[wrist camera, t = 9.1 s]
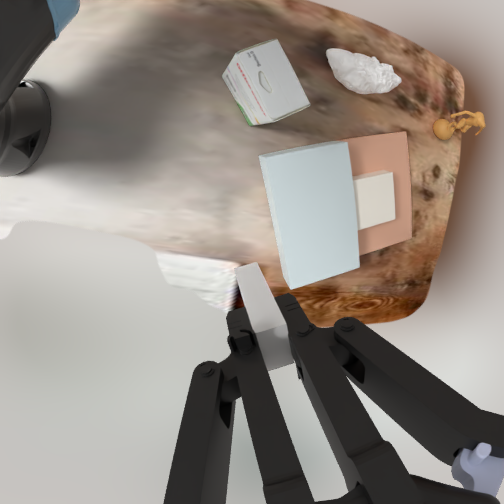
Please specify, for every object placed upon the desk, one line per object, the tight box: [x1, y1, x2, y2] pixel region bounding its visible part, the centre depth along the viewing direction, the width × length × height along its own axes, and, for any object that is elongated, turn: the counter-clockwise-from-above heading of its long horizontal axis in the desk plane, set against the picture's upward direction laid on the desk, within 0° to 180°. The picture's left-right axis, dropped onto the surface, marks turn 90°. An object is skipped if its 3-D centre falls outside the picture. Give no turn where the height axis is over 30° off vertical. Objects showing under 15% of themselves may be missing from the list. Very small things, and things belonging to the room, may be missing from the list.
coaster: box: [352, 170, 395, 230], centre depth 43 cm, size 8×8×2 cm
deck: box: [259, 141, 360, 289], centre depth 42 cm, size 20×12×4 cm, turn 13°
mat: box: [335, 132, 412, 256], centre depth 45 cm, size 20×14×1 cm
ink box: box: [222, 39, 310, 126], centre depth 30 cm, size 9×5×12 cm, turn 27°
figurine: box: [433, 111, 486, 140], centre depth 36 cm, size 8×6×12 cm
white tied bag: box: [326, 48, 401, 94], centre depth 33 cm, size 12×8×11 cm
